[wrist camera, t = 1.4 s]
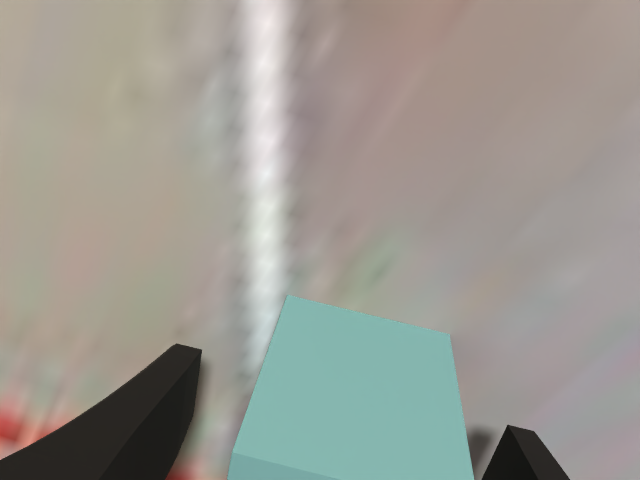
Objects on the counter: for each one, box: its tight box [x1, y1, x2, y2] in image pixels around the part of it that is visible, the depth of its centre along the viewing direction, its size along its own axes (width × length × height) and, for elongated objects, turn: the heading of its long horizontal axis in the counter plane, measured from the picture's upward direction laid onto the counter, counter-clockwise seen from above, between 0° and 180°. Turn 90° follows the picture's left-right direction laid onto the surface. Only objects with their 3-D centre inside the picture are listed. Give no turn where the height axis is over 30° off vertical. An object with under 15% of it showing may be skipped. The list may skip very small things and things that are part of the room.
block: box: [227, 295, 474, 480], centre depth 12 cm, size 4×4×5 cm
